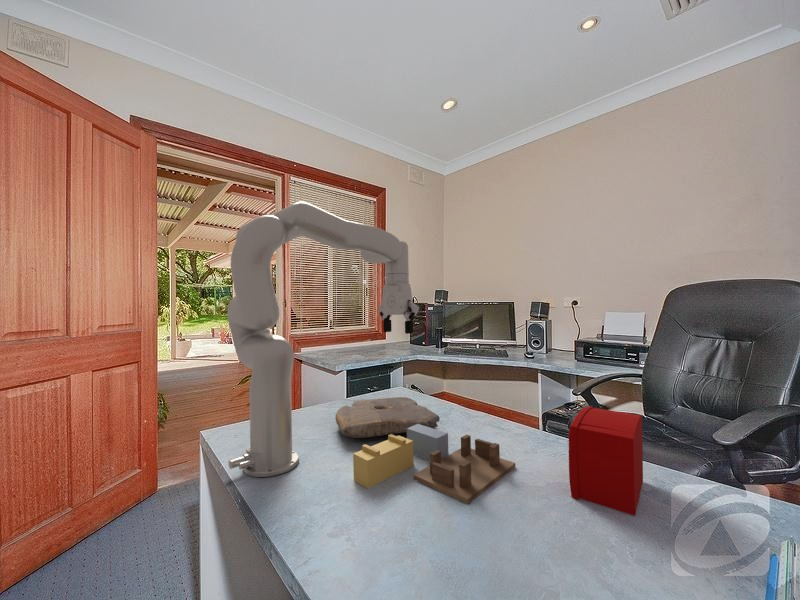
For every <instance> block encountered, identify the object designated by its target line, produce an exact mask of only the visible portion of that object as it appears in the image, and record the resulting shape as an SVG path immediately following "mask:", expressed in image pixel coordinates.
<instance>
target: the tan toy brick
mask: <svg viewBox="0 0 800 600" xmlns="http://www.w3.org/2000/svg"><path fill="white" fill-rule="evenodd" d="M387 436H388V437H387V438H388V439H387V440H383V441H380V442H379V443H376V444H373V445H371V446H370V445H368V444H363V445H361V450H359V451H356V452H354V453H352V457H353V458H352V461H353V464H352V465H353V480H354V481H355V482H357V483H358V484H360V485H362V486H363V487H365V488H367V489H369V488H372V487H373V486H375V485H377V484H379V483H380V484H381V482H383V481H385V480H387V479H390V478H391V477H393V476H395V475H397V474H400V473H402V472H403V471H405V470H407V469H409V468H411V467H414V465H415V464H414V461H415V459H414V458H415V457H414V455H415V454H414V453H413V441H412V440H409V439H407V437H404V436H401V435H395V434H389V435H387Z"/></svg>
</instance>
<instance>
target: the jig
mask: <svg viewBox="0 0 800 600" xmlns="http://www.w3.org/2000/svg"><path fill="white" fill-rule="evenodd" d="M471 436H472V435H470V434H465V435H463V436H460V448H459V449H457V450H455V451H454V452H452V453H450V454H448V456H446V457H444V458H443V459H441V451H439V450H435V451H433V452H431V453H430V460H429V465H428V466H427V467H425V468H424V467H423V469H421V470H419V471H417V472H416V473H414V474H412V475H413V476H412V477H413V478H412V479H413V480H414V481H417V482H418V483H421V484H423V485H424V486H427V487H430V488H432V489H433V490H436V491H438V492H440V493H443V494H445V495H447V496H449V497H451V498H453V499H456V500H458V501H460V502H461V503H464V504H466V505H468V504H470V503H472V501H474V500H475V499H476V498H478V497H479V496H480V495H482V494H483V493H484V492H485V491H487V490H488V489H489V488H491V487H493V485H494V484H496V483H497V482H498V481H500V480H501V479H502V478H504V477H505V476H506V475H507V474H509V473H510V472H511V471H513V470H514V469H515V468H516V462H514V461H511V460H508V459H504V458H502V457H500V455H501V454H500V444H499V443H498V442H497V443H496V442H490V441H487V440H484V439H480V438H476V439H475V440H474V445H475V446H474V448H472V447H471V446H472V444H471V442H472V441H471V439H472V438H471Z"/></svg>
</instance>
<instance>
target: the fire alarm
mask: <svg viewBox="0 0 800 600" xmlns="http://www.w3.org/2000/svg"><path fill="white" fill-rule="evenodd" d="M643 458H644V453H643V415H641V414H635V413H630V412H623V411H617V410H610V409H605V408H598V407H594V406H592V405H591V406H590V405H589V406H585V407H583V408H582V409H581V410H579V411H578V413H577V414H576V416H574V418H573V420H572V423H571V425H570V426H569V431H568V477H569V481H568V482H569V487H570V488H569V489H570V495H571V498H572V499H573V500H577V501H579V499H580V500H582V501H587V502H590V503H593V504H596V505H600V506H602V507H606V508H609V509H612V510H615V511H618V512H621V513H625V514H628V515H632V516H634V517H635V516H636V514H637V509H638V505H639V501H640V495H641V491H642V487H643V483H644V464H643V462H644V461H643V460H644V459H643Z"/></svg>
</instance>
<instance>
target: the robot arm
mask: <svg viewBox="0 0 800 600" xmlns="http://www.w3.org/2000/svg"><path fill="white" fill-rule="evenodd" d="M301 237H304V238H307V239H308V240H309V239H310V240H312V241H314V242H318V243H320V244H322V245H325V246H326V247H327V246H328V247H330V248H333V249H336V250H345V251H348V250H349V251H350V250H351V251H352V250H353V251H354V250H357V251H360V256H361V258H362V259H363V260H364V262H366V263H369V264H373V265H376V264H385V267H384V268H385V272H384V273H385V277H384V281H385V284H383V287H382V296H381V304H380V305H379V306H378V312H379V315H380V317H381V320H382V321H383V324H382V325H383V333H391V332H392V319H391V318H392V316H393V315H394V316H395V315H396V316H401V315H403V317H404V319H405V321H404V333H405V335H406V334H409V335H410V334H413V333H414V321H415V319H416V317H418V312H419V310H420V306H419V305H417V304H416V303H414V302H413V294H412V288H411V284H410V279H409V278H410V277H409V274H410V273H409V271H410V269H409V245H408V243H407V242H406V241H404V240H403V241H402V240H399V238H398V237H397V236H396V235H394V234H392V233H390V232H389V231H387V230H384V229H383V228H380V227H376V226H373V225H369V224H364V223H359V222H356V221H350V220H346V219H343V218H341V217H339V216H337V215H335V214H333V213H330V212H328V211H327V210H324V209H322V208H320V207H317V206H315V205H313V204H312V203H308V202H305V201H298V202H294V203H292V204H290V205H288V206H286V207H284V208H282V209H280V210H279V211H276V212H274V213H272V214H264V215H260V216H257V217H256V218H254V219H252V220H251V221H248V222H246V223H244V224H243V225H241V226H240V227H239V229H238V230H237V232H236V234H235V243H234V245H233V248H232V252H231V256H230V273H231V278H232V282H233V283H232V284H233V288H234V293H235V294H234V295H235V296H234V297H233V298H232V299H231V300H230V301H229V303H228V306H227V311H226V312H227V313H226V315H227V322H228V326H229V329H230V334H231V337H232V341H233V344H234V345H233V346H234V349H235V353H236V356H237V358H238V360H239V362H240V363H241V364H242V365H243V366H245V367H246V368H247V369H250V370H251V378H250V382H249V395H248V398H249V400H248V401H249V441H250V442H249V443H250V445H249V446H250V448H246V450H245V453H244V454H242V456H239V457H235V458H233V459H229V460H228V468H229V469H230V470H233V469H235V468H237V467H238V469H239V470H243V472H244V473H245V474H246V475H248V476H250V477H255V478H268V477H275V476H278V475H281V474H284V473H287V472H288V471H291V470H292V469H294V468H295V467H296V466H298V464H299V461H300V455H299V454H298V453H297V451H294V450H293V424H292V423H293V417H292V416H293V415H292V411H293V410H292V408H293V407H292V378H293V377H292V376H293V369H294V361H295V354H294V349H293V346H292V345H291V343H290V342H289V340H287V339H286V338H284V337H283V336H281V335H278V334H273V333H271V331H270V329H271V328H273V327H274V326H275V325H277V323H278V321H279V317H280V307H279V303H278V300H277V295H276V291H275V286H274V282H273V278H272V272H271V263H272V259H273V255H274V253H275V252H277V250H278V249H279V248H280V247H281V246H282V245H284V244H287V243H288V242H290V241H293V240H294V239H297V238H301Z"/></svg>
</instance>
